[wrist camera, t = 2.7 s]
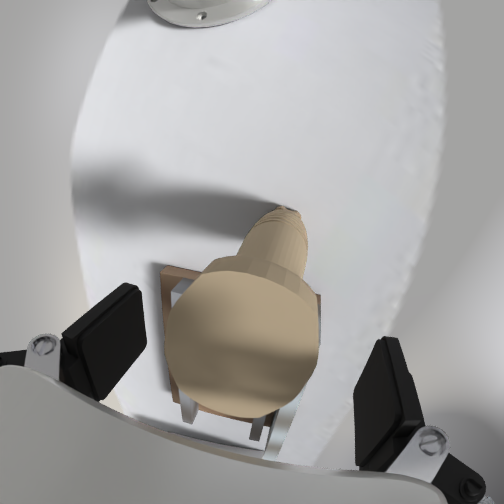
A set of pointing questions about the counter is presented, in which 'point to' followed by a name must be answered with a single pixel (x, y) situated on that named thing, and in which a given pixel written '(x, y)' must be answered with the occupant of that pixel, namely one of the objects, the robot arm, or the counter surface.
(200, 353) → the handle
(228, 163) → the counter surface
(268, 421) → the track
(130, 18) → the counter surface
